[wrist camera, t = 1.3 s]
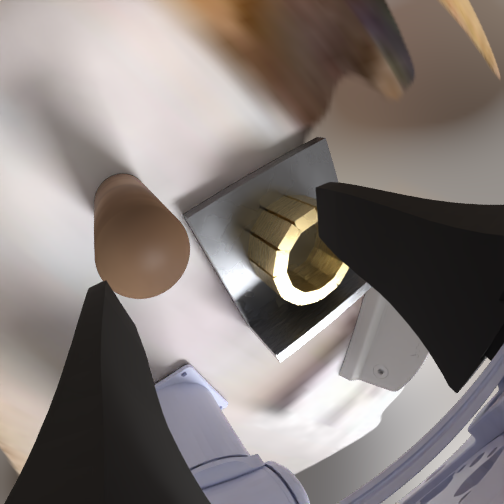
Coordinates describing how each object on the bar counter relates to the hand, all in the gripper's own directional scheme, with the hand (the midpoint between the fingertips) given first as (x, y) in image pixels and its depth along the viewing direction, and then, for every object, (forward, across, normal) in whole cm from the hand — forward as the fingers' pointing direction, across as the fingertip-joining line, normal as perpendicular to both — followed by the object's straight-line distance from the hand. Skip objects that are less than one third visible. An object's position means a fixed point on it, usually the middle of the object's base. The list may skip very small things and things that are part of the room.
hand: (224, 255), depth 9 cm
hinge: (+9, -18, +26) cm, 33 cm away
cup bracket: (+10, -7, +9) cm, 15 cm away
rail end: (+11, +3, +1) cm, 11 cm away
